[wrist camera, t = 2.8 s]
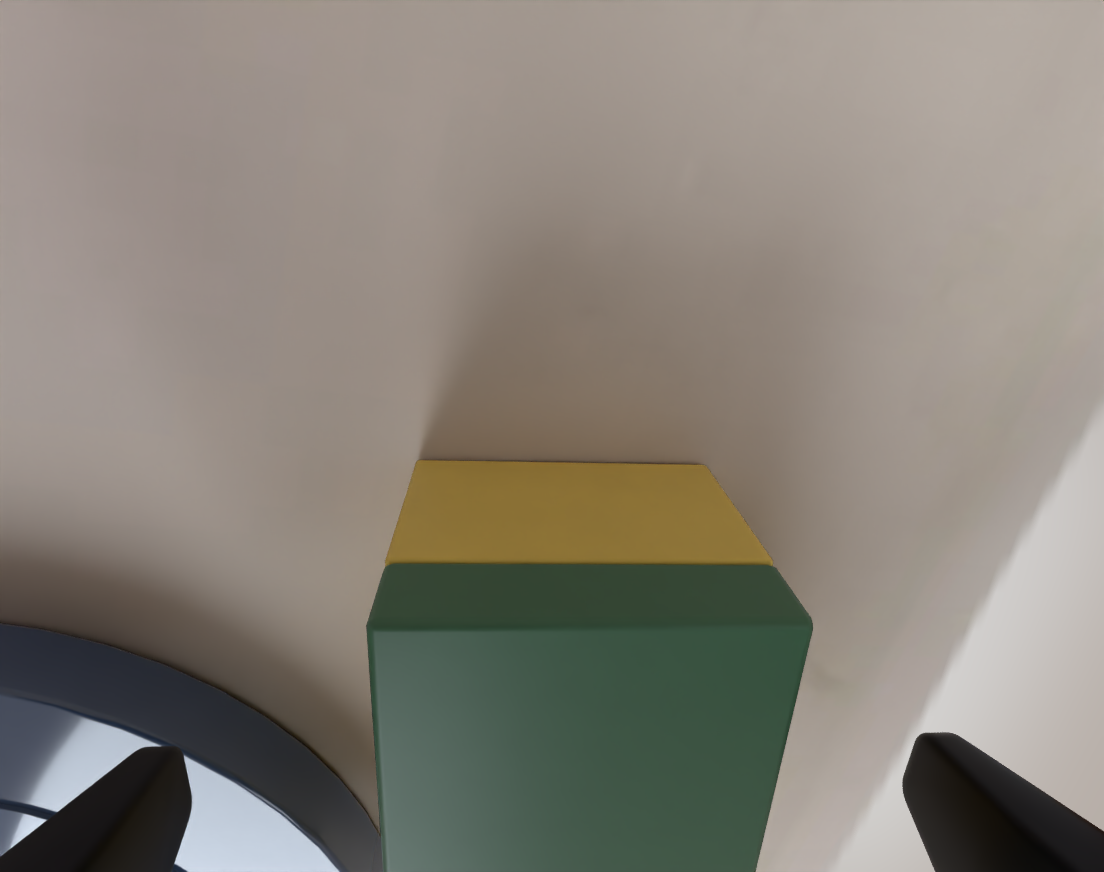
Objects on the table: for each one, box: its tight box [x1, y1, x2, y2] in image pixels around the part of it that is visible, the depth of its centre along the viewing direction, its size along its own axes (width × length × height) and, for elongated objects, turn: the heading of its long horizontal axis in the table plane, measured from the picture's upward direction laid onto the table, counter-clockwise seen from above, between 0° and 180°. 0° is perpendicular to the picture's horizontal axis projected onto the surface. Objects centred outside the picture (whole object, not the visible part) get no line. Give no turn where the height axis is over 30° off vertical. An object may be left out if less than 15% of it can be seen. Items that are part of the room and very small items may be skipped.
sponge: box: [366, 460, 813, 872], centre depth 8 cm, size 6×4×4 cm, turn 177°
